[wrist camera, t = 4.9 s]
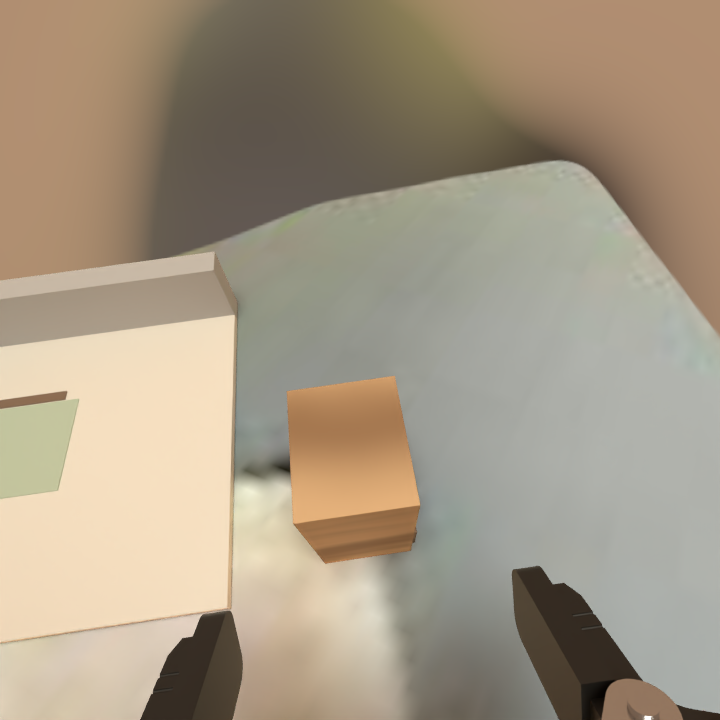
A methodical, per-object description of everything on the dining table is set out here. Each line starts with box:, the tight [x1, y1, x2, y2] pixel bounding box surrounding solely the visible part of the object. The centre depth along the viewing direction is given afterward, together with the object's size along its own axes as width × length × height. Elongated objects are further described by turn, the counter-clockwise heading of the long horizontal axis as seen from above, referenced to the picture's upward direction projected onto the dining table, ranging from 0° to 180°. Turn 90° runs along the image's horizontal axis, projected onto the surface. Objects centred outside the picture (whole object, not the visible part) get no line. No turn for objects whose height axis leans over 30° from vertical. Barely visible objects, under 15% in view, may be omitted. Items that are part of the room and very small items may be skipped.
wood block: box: [287, 376, 420, 563], centre depth 21 cm, size 5×5×9 cm
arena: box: [0, 252, 238, 643], centre depth 25 cm, size 20×20×5 cm
